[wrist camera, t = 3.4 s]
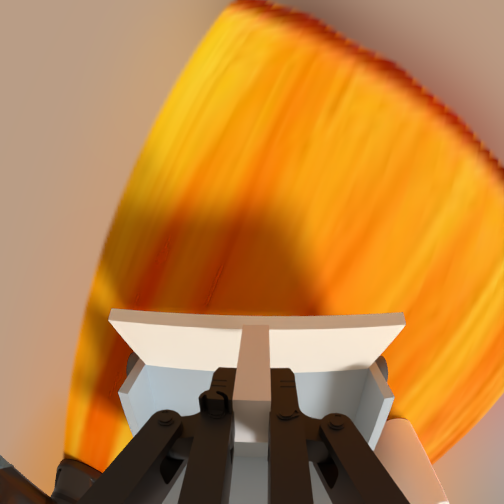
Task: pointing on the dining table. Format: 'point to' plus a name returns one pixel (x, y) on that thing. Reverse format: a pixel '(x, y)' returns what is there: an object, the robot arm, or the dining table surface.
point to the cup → (408, 463)
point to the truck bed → (254, 453)
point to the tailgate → (280, 339)
